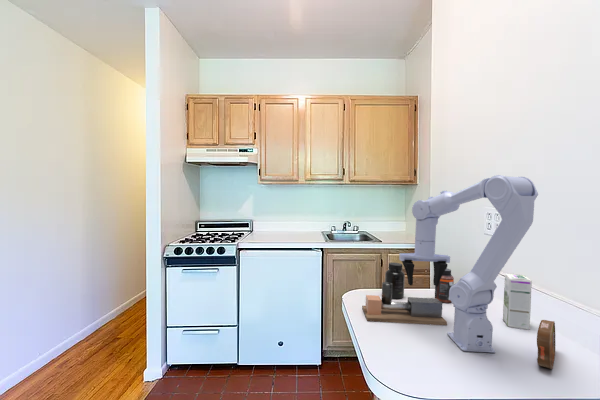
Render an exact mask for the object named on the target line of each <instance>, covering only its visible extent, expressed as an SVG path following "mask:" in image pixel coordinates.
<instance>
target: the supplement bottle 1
mask: <svg viewBox="0 0 600 400" xmlns="http://www.w3.org/2000/svg"><path fill="white" fill-rule="evenodd" d="M387 268H388V269H387V270H386V271H385V276H384V282H389V283H392V300H401V299H403V298H404V295H405V277H406V275H405V274H406V273H404V271H403V263H400V262H389V263H388V267H387Z"/></svg>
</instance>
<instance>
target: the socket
mask: <svg viewBox="0 0 600 400" xmlns="http://www.w3.org/2000/svg"><path fill="white" fill-rule="evenodd" d="M381 304H382V298H381V297H380V295H372V294H366V295H365V305H364V306H365V309H366V311H367V314H373V315H381Z"/></svg>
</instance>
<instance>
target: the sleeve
mask: <svg viewBox="0 0 600 400" xmlns="http://www.w3.org/2000/svg"><path fill="white" fill-rule="evenodd" d="M407 302H409V303H411V311H408V313H409V314H410V316H412V317H431V318H442V317H443V302H440V301H439V300H438V299H436V298H435V297H434V298H433V297H432V298H431V297H413V296H412V297H411V296H407Z"/></svg>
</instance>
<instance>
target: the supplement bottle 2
mask: <svg viewBox="0 0 600 400" xmlns="http://www.w3.org/2000/svg"><path fill="white" fill-rule="evenodd" d="M454 280H455V277H454V276H453V275H452V270H451V268H448V267H447V268H446V270H445V271H444V273H443V275H442V277H441V279H440V282H439V286H438V287H436V286H435V285H434V298H436V299H438V300H439V301H440V302H441V303H445V304H447V303H448V304H450V303H452V302H451V300H450V297H449V290H450V288H451V286H452V285H454V284H455V281H454Z"/></svg>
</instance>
